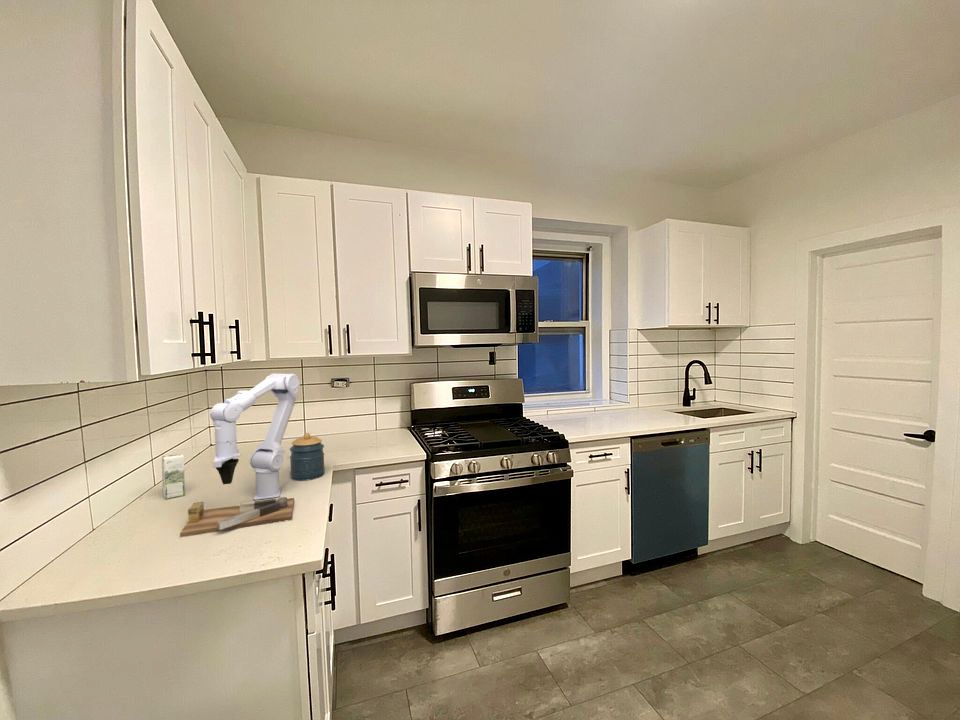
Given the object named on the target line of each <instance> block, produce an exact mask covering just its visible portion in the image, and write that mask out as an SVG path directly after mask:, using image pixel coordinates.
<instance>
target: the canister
mask: <svg viewBox="0 0 960 720" xmlns="http://www.w3.org/2000/svg"><path fill="white" fill-rule="evenodd" d="M322 441H323V439H321V438H319V437H318V436H314V435H313V436H311V434H310V433H309V432H305V433H303V436H302V437H298V438H295V440H293V441H292V442H291V445H292V446H291V447H290V448H289V451H290V456H289V460H290V461H289V462H290V472H289V476H290V479H291V480H293V479H295V481H308V480H307V479H311V480H314V479H313V478H315V479H317V478H316V477H318V478H320V477H319V476H321V477H322V476H324V475H325V470H326V469H325V452H324V449H323V448H325V445H324V443H322ZM323 474H324V475H323Z"/></svg>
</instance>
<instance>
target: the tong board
mask: <svg viewBox="0 0 960 720" xmlns="http://www.w3.org/2000/svg"><path fill="white" fill-rule="evenodd" d="M275 502H278V503H280V510H278V511H275V512H272V513H269V514H266V515H263V516H260V517H257V518H254V519H251V520H248V521H245V522H242V523H239V524H236V525H233V526H230V527H227V528H224V529H221V530H219V529H217V521H221V520H224V519H227V518H230V517H233V516H236V515H239V514H242V513H245V512H248V511H251V510H255V509H257V508H260V507H263V506H266V505H269V504H272V503H275ZM294 504H295V497H291V498H288V497H286V496H285V497H284V496H283V497H278V498H268V499H261V500H254V501H251V502H244V503H243V502H242V503H240V504H239V505H231V506H226V507H225V506H224V507H217V508H210V509H204V515H199V522H193V523H189V520H187V523H186V524H185V526H184V527H183V528H182V529H181V531H180V533H179V537H180V538H182V537H183V538H184V537H190V536H195V535H203V534H209V533H215V532H216V531H217V532H221V531H223V532H224V531H228V530H233V529H234V530H236V529H241V528H248V527H253V526H254V527H255V526H261V525H266V524H267V523H268V524H273V523H274V522H275V523H280V522H279V521H281V522H286V521H285V520H288V521H292V519H291V518H293V512H292V511H294V506H293V505H294Z"/></svg>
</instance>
